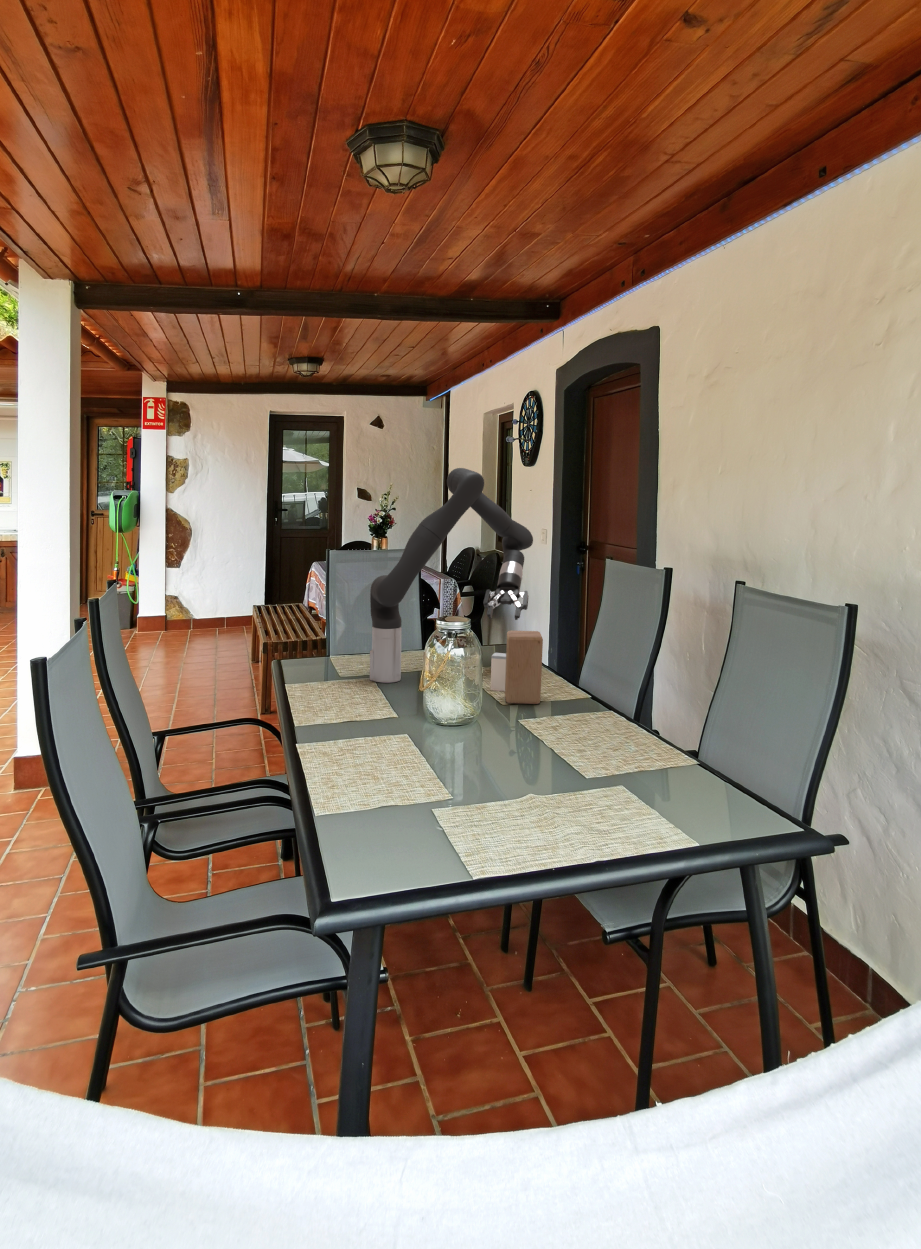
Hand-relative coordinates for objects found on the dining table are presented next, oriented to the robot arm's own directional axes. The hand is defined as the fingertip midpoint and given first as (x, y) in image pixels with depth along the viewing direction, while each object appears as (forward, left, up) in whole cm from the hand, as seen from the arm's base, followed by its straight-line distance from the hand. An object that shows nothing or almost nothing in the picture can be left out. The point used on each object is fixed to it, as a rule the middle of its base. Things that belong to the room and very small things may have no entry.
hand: (502, 617), depth 260 cm
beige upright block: (+2, -12, -20) cm, 24 cm away
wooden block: (+11, -23, -21) cm, 33 cm away
